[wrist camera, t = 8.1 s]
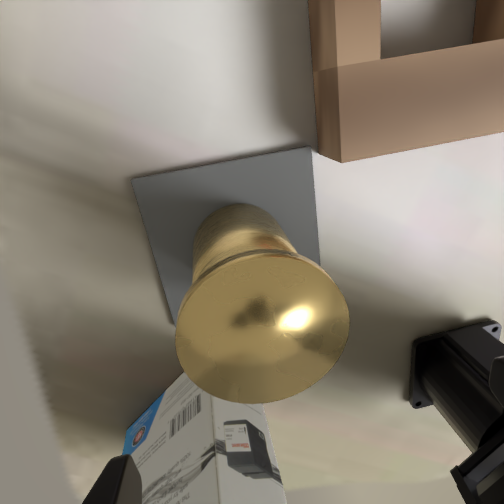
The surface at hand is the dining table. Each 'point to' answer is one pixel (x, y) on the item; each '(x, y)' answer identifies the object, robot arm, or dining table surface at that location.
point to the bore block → (401, 83)
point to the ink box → (204, 450)
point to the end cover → (256, 311)
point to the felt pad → (220, 195)
